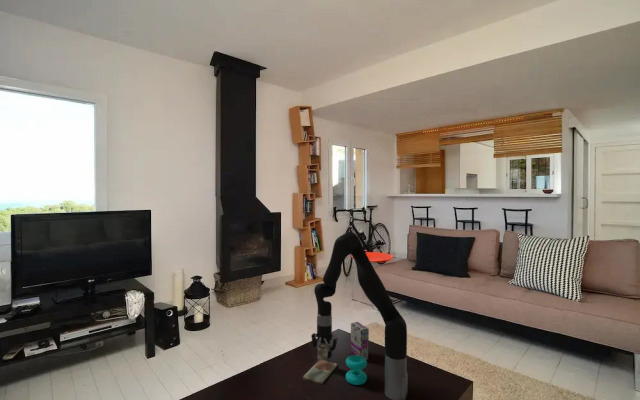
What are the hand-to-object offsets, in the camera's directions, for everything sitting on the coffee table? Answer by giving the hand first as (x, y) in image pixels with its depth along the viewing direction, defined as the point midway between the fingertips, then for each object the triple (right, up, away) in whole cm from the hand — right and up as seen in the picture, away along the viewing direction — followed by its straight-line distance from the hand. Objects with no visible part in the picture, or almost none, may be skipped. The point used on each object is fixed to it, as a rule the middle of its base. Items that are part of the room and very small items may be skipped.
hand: (324, 356), depth 160 cm
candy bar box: (+19, -6, +13) cm, 24 cm away
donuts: (+15, -6, -11) cm, 19 cm away
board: (-2, -6, -4) cm, 7 cm away
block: (0, -1, 0) cm, 1 cm away
